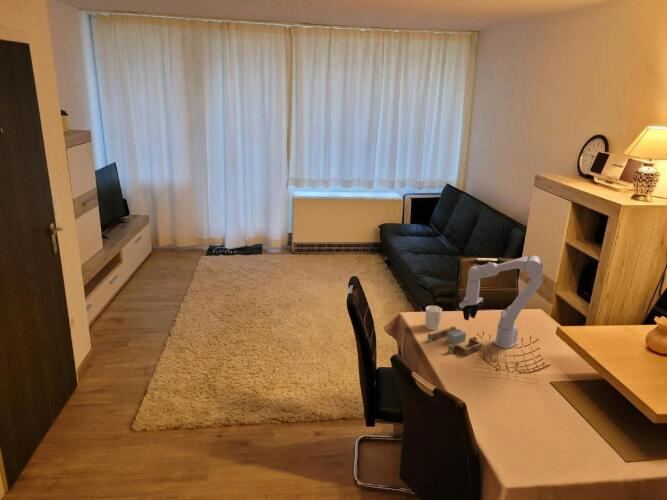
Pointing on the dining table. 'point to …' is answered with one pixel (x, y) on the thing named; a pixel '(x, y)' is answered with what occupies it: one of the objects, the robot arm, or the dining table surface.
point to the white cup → (433, 317)
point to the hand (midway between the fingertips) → (469, 318)
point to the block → (456, 336)
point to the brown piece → (455, 347)
